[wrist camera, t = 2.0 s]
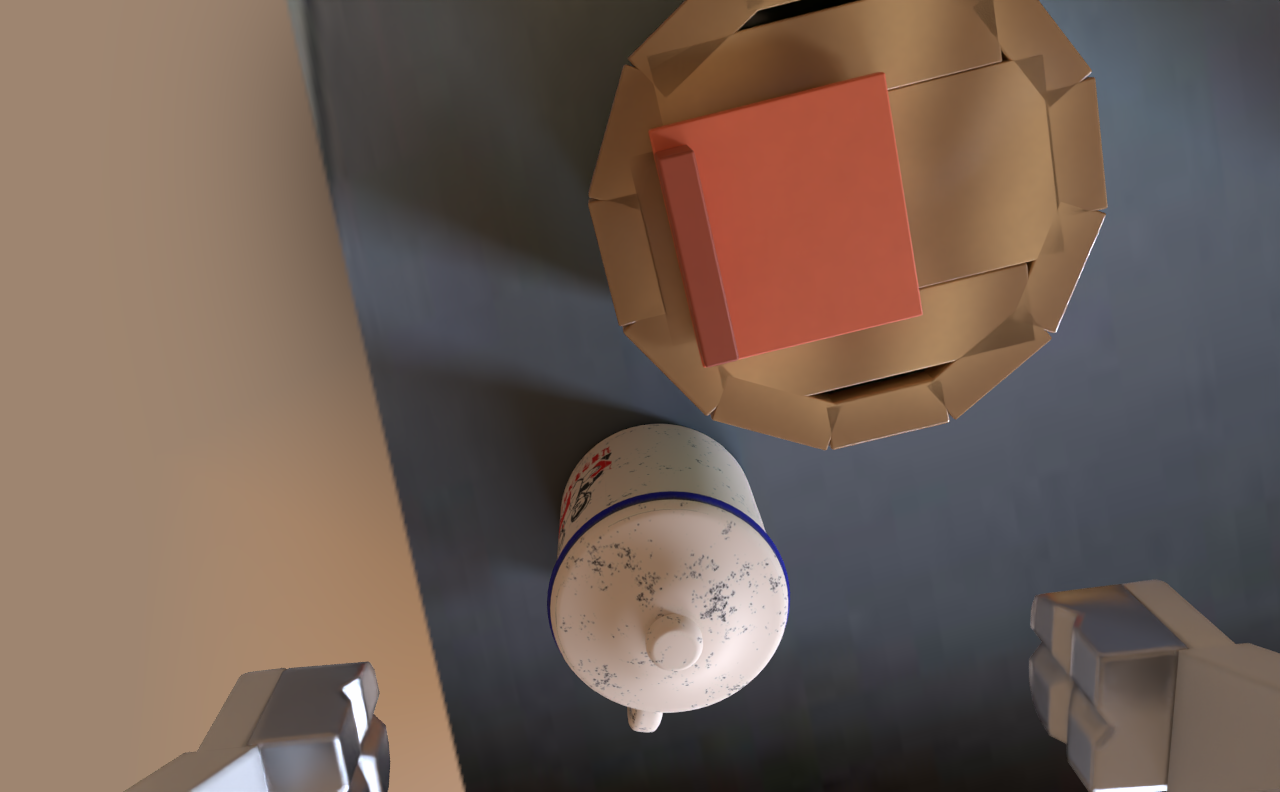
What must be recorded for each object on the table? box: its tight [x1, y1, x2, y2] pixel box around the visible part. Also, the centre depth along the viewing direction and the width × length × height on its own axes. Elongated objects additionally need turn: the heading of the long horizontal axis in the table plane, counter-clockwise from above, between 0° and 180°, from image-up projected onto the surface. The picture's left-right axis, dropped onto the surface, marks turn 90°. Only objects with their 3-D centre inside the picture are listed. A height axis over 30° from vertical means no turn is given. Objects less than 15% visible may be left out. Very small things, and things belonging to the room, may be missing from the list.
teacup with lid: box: [547, 424, 790, 732], centre depth 42 cm, size 12×9×12 cm
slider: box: [648, 72, 923, 368], centre depth 30 cm, size 7×7×3 cm
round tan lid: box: [588, 0, 1107, 450], centre depth 32 cm, size 15×15×1 cm
